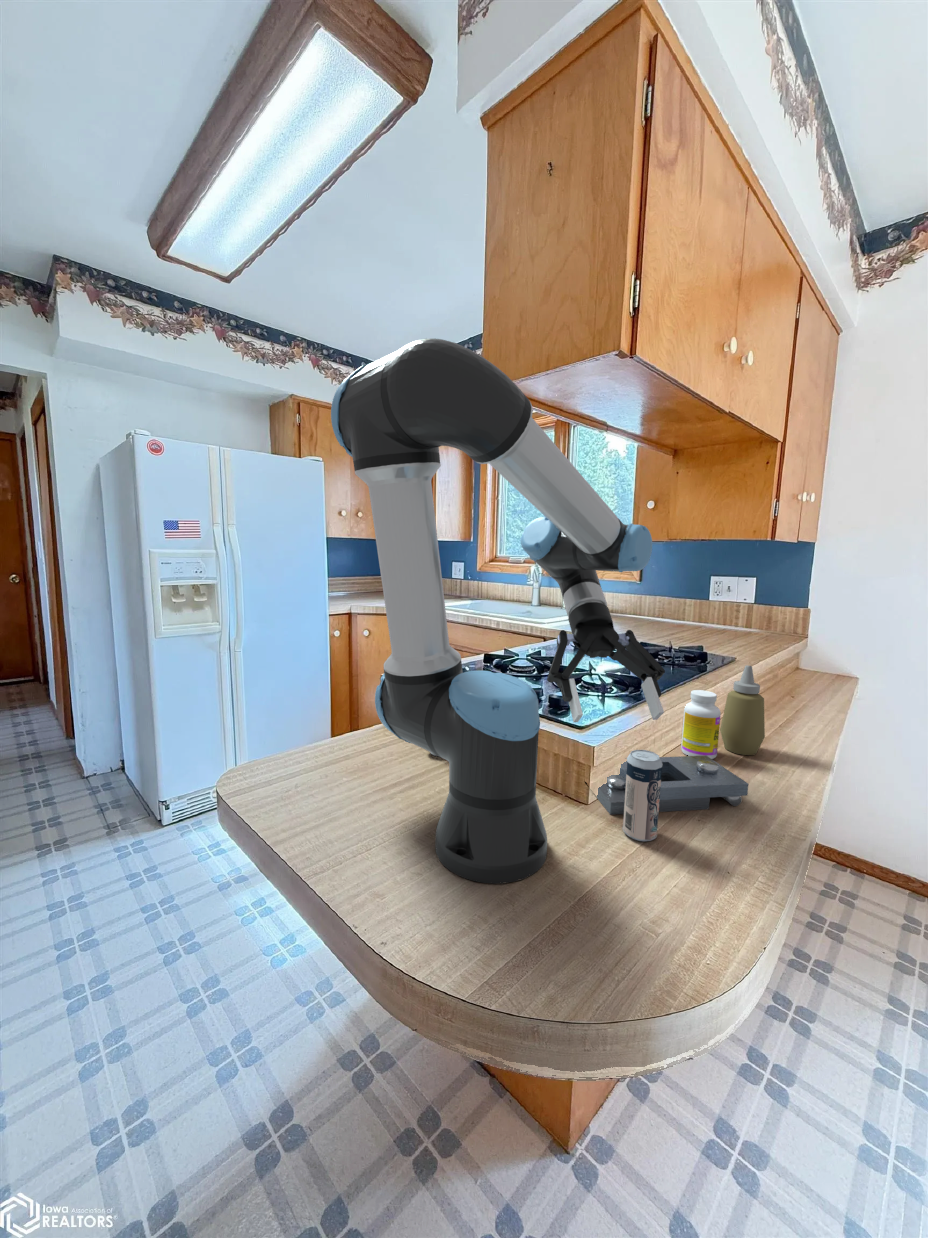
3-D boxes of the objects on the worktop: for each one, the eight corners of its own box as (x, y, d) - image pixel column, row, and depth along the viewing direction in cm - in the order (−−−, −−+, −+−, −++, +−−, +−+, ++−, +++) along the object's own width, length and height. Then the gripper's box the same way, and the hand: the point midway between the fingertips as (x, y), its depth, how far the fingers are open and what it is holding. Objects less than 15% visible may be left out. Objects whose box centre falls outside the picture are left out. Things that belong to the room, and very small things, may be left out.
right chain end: (643, 812, 76) (645, 782, 75) (613, 780, 87) (615, 753, 86) (746, 807, 78) (749, 777, 77) (704, 776, 89) (706, 750, 88)
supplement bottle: (717, 763, 94) (723, 699, 93) (680, 757, 97) (685, 695, 96) (716, 751, 100) (721, 691, 99) (681, 745, 103) (685, 686, 102)
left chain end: (610, 814, 75) (611, 796, 75) (583, 781, 86) (584, 765, 86) (708, 809, 77) (710, 791, 77) (671, 777, 88) (672, 762, 88)
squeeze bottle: (751, 744, 105) (759, 662, 102) (770, 759, 97) (780, 671, 94) (712, 742, 105) (719, 661, 103) (728, 757, 98) (736, 670, 95)
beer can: (657, 847, 67) (663, 764, 65) (621, 839, 69) (626, 759, 67) (656, 829, 71) (662, 751, 70) (622, 822, 73) (627, 746, 71)
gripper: (642, 624, 95) (680, 724, 82) (518, 624, 92) (538, 729, 79) (658, 600, 89) (702, 704, 77) (526, 599, 86) (549, 709, 73)
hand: (618, 717), depth 78 cm, fingers open, 13 cm apart
